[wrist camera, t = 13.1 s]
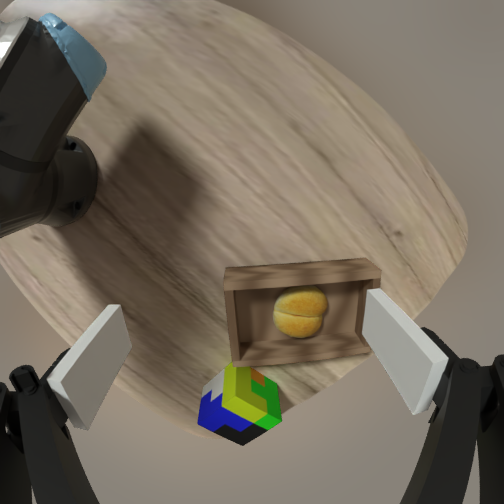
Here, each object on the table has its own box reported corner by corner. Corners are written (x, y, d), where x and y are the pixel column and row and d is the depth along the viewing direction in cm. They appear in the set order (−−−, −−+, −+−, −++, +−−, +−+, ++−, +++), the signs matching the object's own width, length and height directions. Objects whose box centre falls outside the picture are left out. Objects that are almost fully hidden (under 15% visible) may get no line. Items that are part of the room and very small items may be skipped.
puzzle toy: (203, 386, 50) (197, 423, 41) (236, 357, 49) (235, 395, 39) (242, 409, 53) (242, 445, 43) (276, 383, 51) (282, 421, 41)
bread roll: (330, 285, 44) (338, 296, 40) (313, 333, 47) (319, 346, 43) (280, 276, 43) (284, 286, 40) (266, 326, 46) (268, 339, 42)
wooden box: (233, 345, 48) (232, 367, 42) (225, 267, 44) (223, 282, 38) (358, 333, 48) (370, 351, 42) (365, 257, 44) (381, 270, 38)
